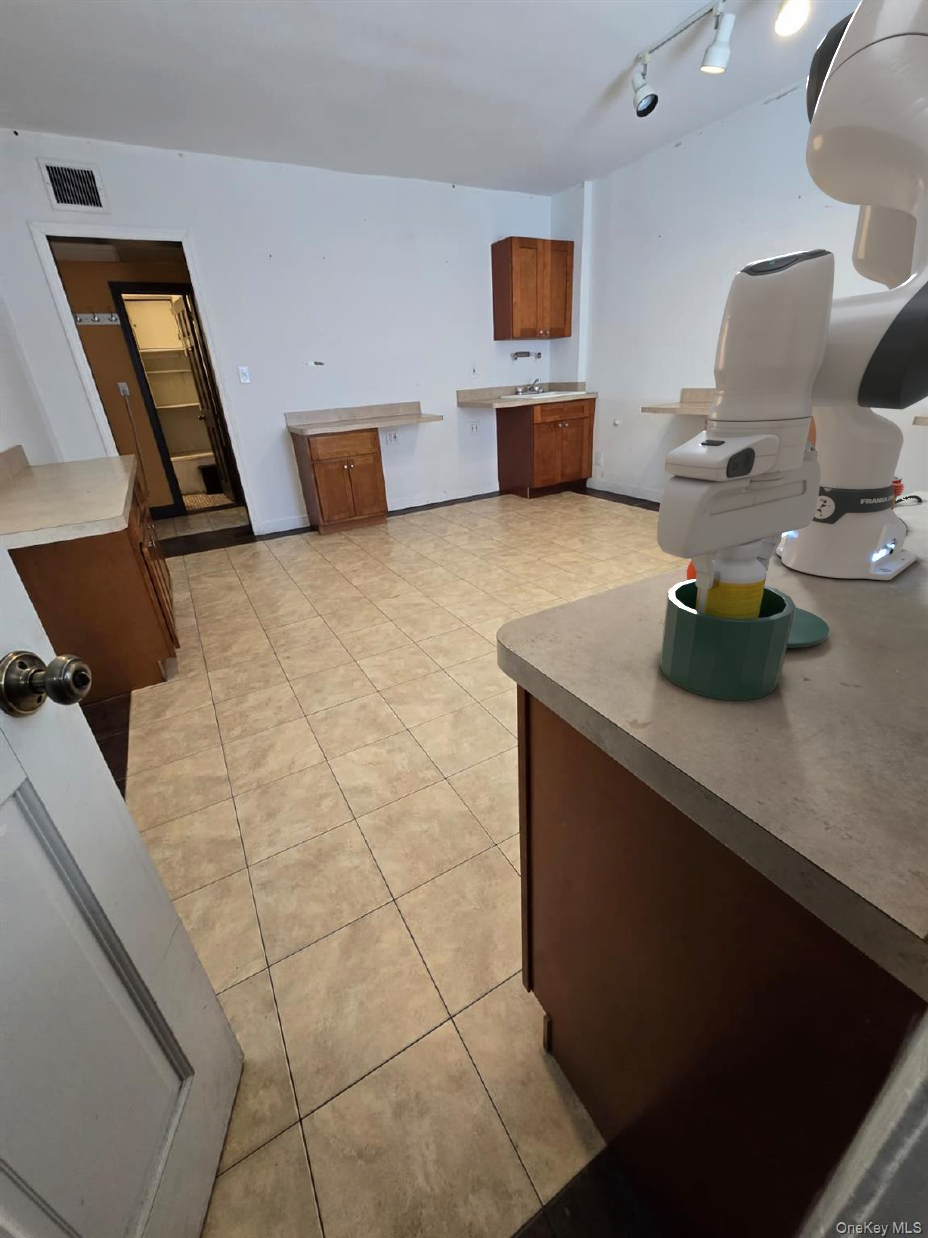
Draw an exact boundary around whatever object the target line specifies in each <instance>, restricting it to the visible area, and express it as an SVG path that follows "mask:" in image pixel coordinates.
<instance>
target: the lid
mask: <svg viewBox="0 0 928 1238" xmlns="http://www.w3.org/2000/svg"><path fill="white" fill-rule="evenodd" d="M829 634H830V627H829V625H828V623H827V622H826V621H825V620H823V618H822V617H820V616H818V615H816V614H814V613H812V612H810V611H808V610H805V609H802V608H799V607H795V612H794V616H793V621H792V625H791V629H790V634H789V638H788V643H787V647H786V649H787V648H788V649H789V648H790V649H791V648H792V649H795V648H805V647H807V648H808V647H811V646H816V645H818V644H821V643H823V642H825V640H827V638H828V637H829Z"/></svg>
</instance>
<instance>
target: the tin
mask: <svg viewBox="0 0 928 1238" xmlns="http://www.w3.org/2000/svg"><path fill="white" fill-rule="evenodd" d="M695 582H696V579H692V580H685V581H681V582H677V583H676V584H674V585H673V586H671V587H670V588H669V589H668V590H667V594H666V604H665V611H664V612H665V615H664V622H663V631H662V632H663V633H662V641H661V651H660V663H659V664H660V670H661V672H662V674H663V675H664V676H665V678H666V679H667V680H668V681H670V682H671V683H672V684H674V685H676V686H677V687H679V688H681V689H683V690H685V691H687V692H689V693H693V694H695V695H698V696H702V697H706V698H709V699H714V700H721V701H737V702H739V701H750V700H756V699H760V698H763V697H765V696H768V695H769V694H771V693H772V692H773V691H774V690H775V689H776V688H777V686H778V682H779V681H780V678H781V674H782V670H783V665H784V661H785V656H786V652H787V648H786V647H787V643H788V638H789V634H790V629H791V625H792V621H793V616H794V612H795V607H796V604H795V602H794V600H793V599H792V597H791V596H790V595H788V594H786V593H784V592H782V591H780V590H779V589H777V588H774V587H771V586H768V585H764V591H763V597H762V602H761V607H760V612H759V618H753V619H739V618H724V617H719V616H714V615H710V614H705V613H701V612H698V611H696V610H695V609H696V601H697V593H698V587H697V586H696V584H695ZM796 608H797V607H796Z"/></svg>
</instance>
